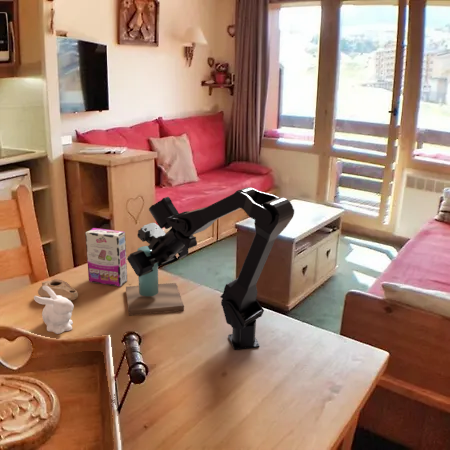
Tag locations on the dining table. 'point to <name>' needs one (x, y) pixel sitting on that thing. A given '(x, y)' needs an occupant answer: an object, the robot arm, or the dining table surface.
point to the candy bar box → (106, 256)
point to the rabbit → (56, 311)
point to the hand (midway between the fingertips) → (144, 269)
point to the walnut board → (154, 300)
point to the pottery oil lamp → (58, 289)
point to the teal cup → (148, 278)
